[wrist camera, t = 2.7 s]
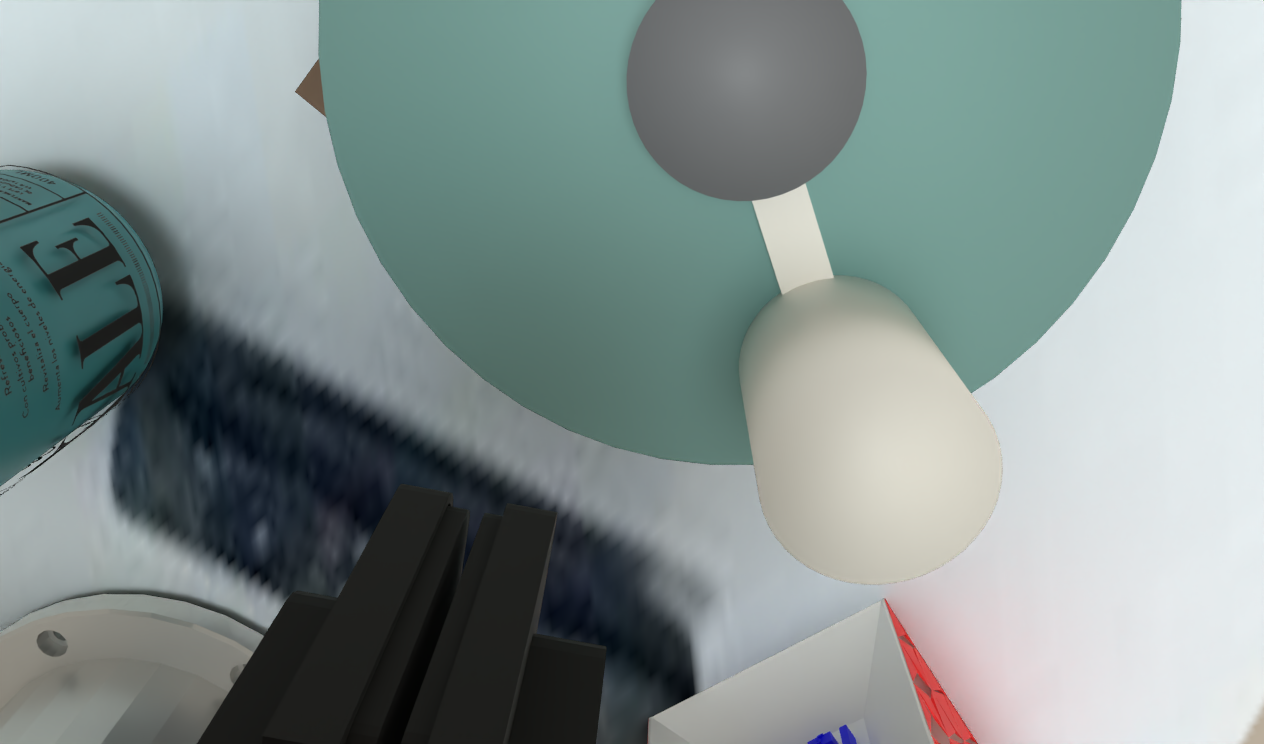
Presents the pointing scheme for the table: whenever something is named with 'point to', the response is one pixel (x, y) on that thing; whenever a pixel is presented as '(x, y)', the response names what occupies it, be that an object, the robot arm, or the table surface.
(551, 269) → the handwheel
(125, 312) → the beverage bottle
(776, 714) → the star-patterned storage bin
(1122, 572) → the table surface
